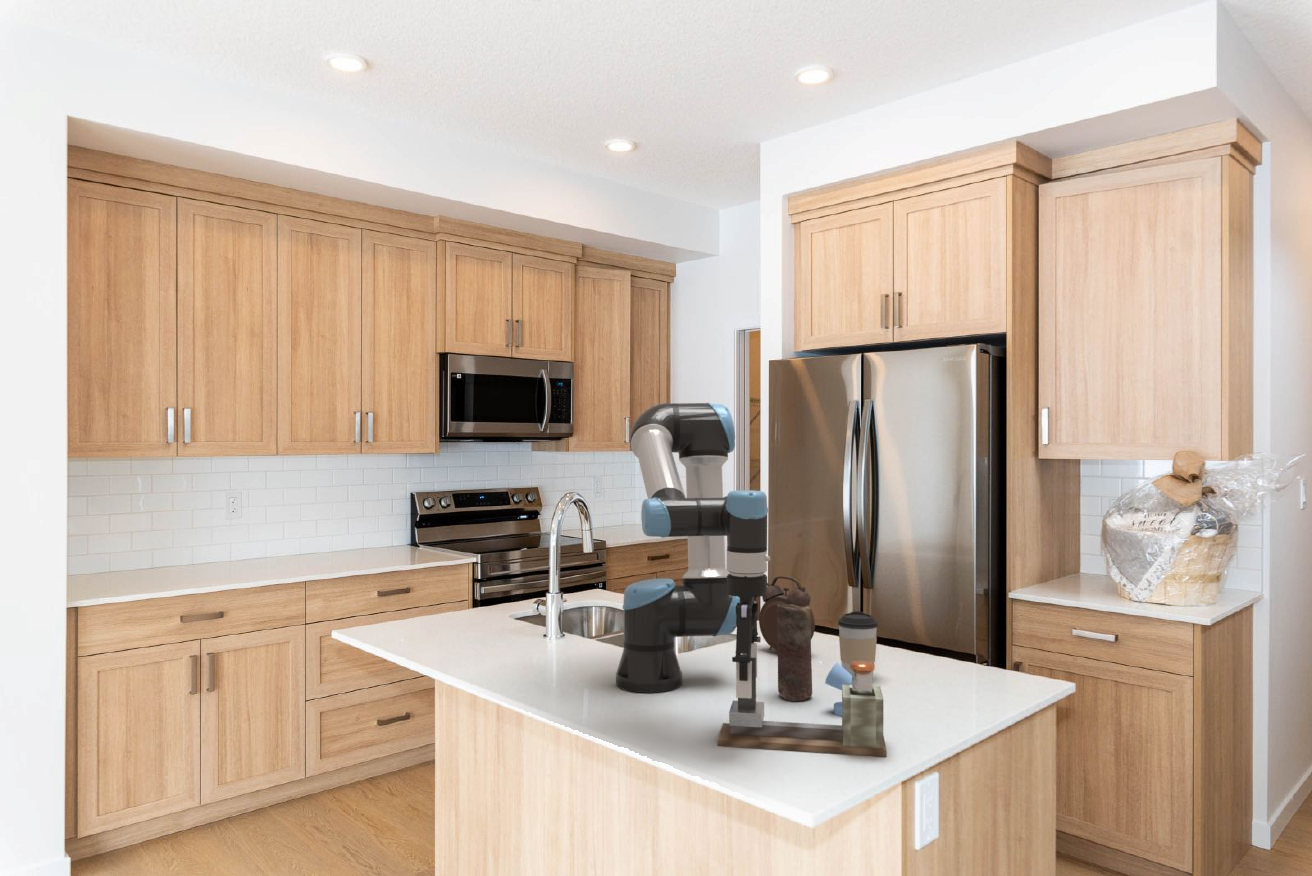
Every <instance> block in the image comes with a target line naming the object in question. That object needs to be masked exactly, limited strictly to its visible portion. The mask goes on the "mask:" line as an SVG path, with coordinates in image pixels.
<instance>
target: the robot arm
mask: <svg viewBox="0 0 1312 876" xmlns="http://www.w3.org/2000/svg"><path fill="white" fill-rule="evenodd" d="M629 444H630V447H631V451H632V452H633V454H634V455H635V457H636V458H637V459H638V463H639V467H640V472H641V475H642V479H643V484H644V489H645V493H646V497H647V498H646V499H643V501H642V503H641V510H640V511H641V513H640V514H641V515H640V516H641V519H640V520H641V527H642V529H641V530H642V533H643V534H644V535H645V536H646V537H652V538H653V537H654V538H655V537H656V538H657V537H658V538H662V539H663V538H671V537H673V538H677V537H679V538H680V537H687V556H688V557H687V559H688V561H687V562H688V563H687V564H688V568H687V569H688V570H687V571H686V572H685V573H684V574H683V575H682V576H681V577H682V578H681V581H682V584H681V585H676V583H675V581H674V579H671V578H668V577H667V578H661V577H660V578H659V577H658V578H651V579H644V580H641V581H637V582H634V583H631V584H629V585H628V586H626V588H625V589H624V592H623V604H622V609H623V650H622V652H621V657H620V661H619V662H618V667H617V670H616V672H615V673H616V674H615V685H616V686H617V687H619V688H620V689H622V690H626V691H628V692H635V693H662V692H668V691H672V690H675V689H677V688H680V687H681V686H682V685H683V672H682V669H681V667H680V663H679V659H678V657H677V653H676V649H675V639H676V638H678V637H679V638H681V637H686V638H687V637H718V636H727V635H730V634H732V633H733V632H734V631H735V630H736V637H735V641H736V642H735V655H734V656H732V657H731V661H732V663H735V671H736V672H735V674H736V675H735V676H736V677H735V681H736V682H735V683H736V684H735V687H736V688H735V694H736V695H735V698H737V699H738V698H752V661H751V658H756V679H757V678H758V643H761V636H758V635H759V633H758V618H759V616H758V615H759V614H758V613H759V603H757V598H760V597H762V596H764V595H766V594H767V587H768V586H767V583H768V576H767V575H766V574H765V573H766V572H767V571H768V562H771V557H770V555H767V554H768V552H767V551H768V513H769V507H768V499H767V498H768V497H767V494H766V493H765V492H764V491H762V490H756V489H755V490H751V489H744V490H743V489H742V490H741V489H740V490H737V489H736V490H731V491H729V492H728V493H727V495H726V496H724V492H723V491H724V489H723V485H724V484H723V466H724V464H725V463H726V462H727V461H728V460H729V454H730V453H732V452H733V451H734V450H735V447H736V430H735V425H734V421H733V417H732V413H731V412H730V410H729V409H728V407H727V406H726V405H724V404H721V403H711V402H700V403H699V402H697V403H696V402H693V403H690V402H689V403H683V402H681V403H680V402H679V403H675V402H674V403H671V402H665V403H661V404H660V403H659V404H656V405H654V406H651V407H650V408H648V409H646V410H645V411H644V412H643V413H642V414H640V415H639V416H638V418H637V419H636V420H635V422H634V423H633V425H632V427H631V430H630V434H629ZM673 453H678V461H679V462H680V463H681V464H682V465H683V466H684V468H685V485H686V486H685V487H686V488H685V489H686V491H684V488H683V484H682V481H681V477H680V475H679V472H678V468H677V464H676V462H675V458H674V455H673ZM685 493H686V494H685ZM725 537H726V546H727V547H726V546H725ZM725 547H726V549H725Z"/></svg>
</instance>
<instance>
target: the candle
mask: <svg viewBox="0 0 1312 876" xmlns="http://www.w3.org/2000/svg"><path fill="white" fill-rule="evenodd" d="M810 608H811V607H810V605H809V606H806V607H800V606H796V605H792V604H790V605H782V604H780V605H777V629H778V651H777V692H778V694H779V696H781V697H782V698H784V699H785V701H789V702H797V701H804V700H806V699H807V698H811V697H812V695H813V670H812V639H811V621H810Z"/></svg>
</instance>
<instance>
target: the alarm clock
mask: <svg viewBox="0 0 1312 876" xmlns="http://www.w3.org/2000/svg"><path fill="white" fill-rule="evenodd" d="M779 579H784V580H790V581H792V582H794V583H795V584H796V586H797V587H794V588H792V589H791V590H790V589H789V588H787V587H783V588H782V587H780V586H779V585H777V584H776V583H777V581H778V580H779ZM775 584H776V585H775ZM788 592H789V593H788ZM787 593H788V594H787ZM761 597H762V601H763V602H762V603H763V604H762V606H761V608H760V611H759V614H758V615H759V616H758V622H759V623H758V625H759V630H760V633H761V636H762V637H763V640H764V641H765V642H766V644H767V645H768V646H769V647H768V651H769V652H770V651H771V650H772V649H773V650H775V651H777V652H778V629H777V605H780V604H782V605H790V604H792V605H796V606H800V607H806V606H809V607H810V603H811V598H812V597H811V595H810V593H809V592H808V591H807V590H806V587H805V586H803V587H802V584H801V583H800V581H799V579H796V578H794V577H793V576H787V575H779V576H776V577H774V578H773V580H772V582H771V583H770V582H767V594H766V595H764V596H761ZM810 621H811V640H812V639H813V638H814V634H815V629H816V619H815V616H814V613H813V611H812V609H811V607H810Z"/></svg>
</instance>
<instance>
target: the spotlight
mask: <svg viewBox="0 0 1312 876" xmlns="http://www.w3.org/2000/svg"><path fill="white" fill-rule="evenodd" d="M824 683H825V684H826V685H827V686H830V687H833V688H835V689H837V690H839V691H842V685H852V675H851V674H850V673H849V672H847V671H846V670H845V669H844V668H843V667H842V664H840V663H839V662H836V663H835V664H833V666H832V667H831V669H830V670H829V672H828V674H827V676H826V679H825V681H824ZM833 714H835V715H836V716H840V717H842V701H836V702H834V703H833Z"/></svg>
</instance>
